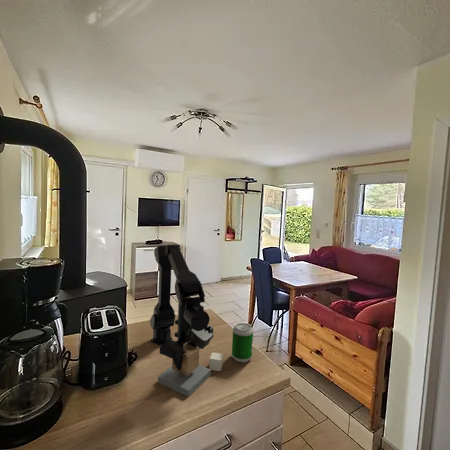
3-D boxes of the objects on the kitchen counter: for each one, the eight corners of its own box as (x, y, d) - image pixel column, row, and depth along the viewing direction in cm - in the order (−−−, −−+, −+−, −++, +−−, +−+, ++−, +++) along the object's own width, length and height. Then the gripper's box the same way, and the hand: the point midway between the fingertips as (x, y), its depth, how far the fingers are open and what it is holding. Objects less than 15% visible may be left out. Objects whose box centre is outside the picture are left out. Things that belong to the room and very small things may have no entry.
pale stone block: (209, 369, 92) (209, 358, 92) (211, 363, 96) (212, 352, 96) (220, 371, 91) (221, 360, 91) (222, 364, 95) (223, 353, 95)
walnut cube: (172, 369, 85) (172, 350, 85) (183, 360, 90) (184, 342, 90) (187, 375, 82) (187, 356, 82) (198, 366, 87) (199, 348, 87)
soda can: (250, 365, 95) (252, 332, 95) (229, 362, 97) (231, 329, 96) (252, 354, 103) (254, 323, 102) (233, 351, 104) (234, 321, 103)
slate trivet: (157, 382, 84) (157, 376, 84) (182, 363, 95) (182, 358, 94) (188, 397, 78) (188, 390, 78) (210, 375, 89) (211, 369, 89)
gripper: (189, 336, 73) (187, 390, 74) (223, 313, 89) (221, 358, 90) (158, 325, 78) (157, 376, 80) (196, 306, 95) (194, 348, 96)
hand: (185, 364), depth 86 cm, fingers closed on walnut cube, 6 cm apart
